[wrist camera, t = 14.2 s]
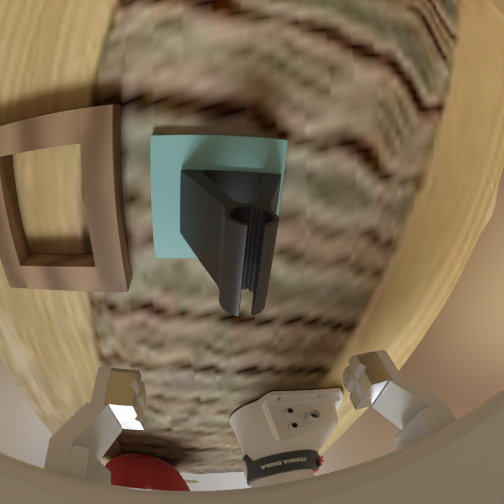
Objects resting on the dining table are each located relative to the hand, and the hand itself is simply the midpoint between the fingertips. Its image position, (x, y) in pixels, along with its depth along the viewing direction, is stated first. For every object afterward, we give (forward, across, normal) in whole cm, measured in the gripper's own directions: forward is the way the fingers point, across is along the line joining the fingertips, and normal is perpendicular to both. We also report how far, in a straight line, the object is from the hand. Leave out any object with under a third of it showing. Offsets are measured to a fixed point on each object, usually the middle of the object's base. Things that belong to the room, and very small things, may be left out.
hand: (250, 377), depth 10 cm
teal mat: (+20, 0, 0) cm, 20 cm away
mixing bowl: (+20, -20, -70) cm, 75 cm away
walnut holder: (+19, -17, 0) cm, 26 cm away
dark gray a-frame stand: (+19, +1, 0) cm, 19 cm away
